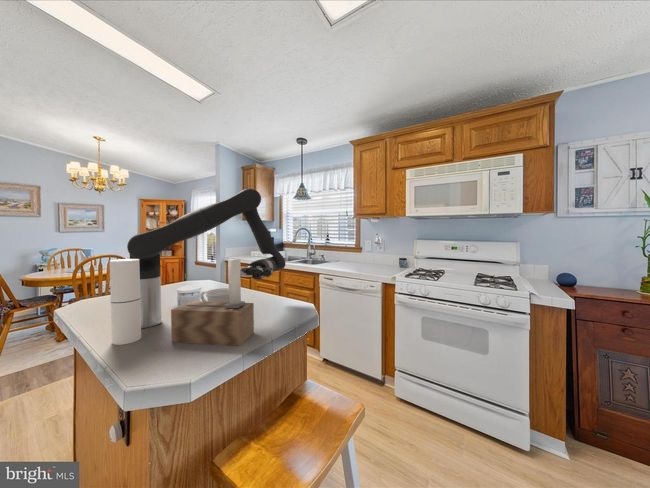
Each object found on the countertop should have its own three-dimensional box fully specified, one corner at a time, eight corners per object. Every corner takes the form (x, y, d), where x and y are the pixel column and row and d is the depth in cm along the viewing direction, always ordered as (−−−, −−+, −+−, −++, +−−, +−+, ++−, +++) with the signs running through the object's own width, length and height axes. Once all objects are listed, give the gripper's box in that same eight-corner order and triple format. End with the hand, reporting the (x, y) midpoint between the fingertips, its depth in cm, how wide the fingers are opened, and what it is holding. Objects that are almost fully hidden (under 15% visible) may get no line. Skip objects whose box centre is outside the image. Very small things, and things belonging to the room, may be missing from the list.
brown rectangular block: (171, 342, 76) (171, 309, 76) (192, 329, 86) (191, 300, 86) (240, 345, 74) (240, 311, 73) (253, 332, 84) (253, 302, 83)
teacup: (210, 310, 108) (209, 287, 107) (242, 311, 106) (242, 288, 105) (191, 319, 96) (191, 294, 95) (227, 321, 94) (227, 295, 93)
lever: (224, 307, 76) (223, 259, 76) (232, 303, 81) (231, 258, 81) (237, 308, 76) (237, 260, 75) (244, 303, 81) (244, 258, 80)
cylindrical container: (117, 346, 73) (115, 261, 72) (108, 341, 76) (105, 260, 75) (145, 338, 79) (143, 259, 78) (135, 333, 82) (133, 258, 82)
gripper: (244, 259, 102) (224, 263, 86) (278, 259, 100) (264, 264, 84) (244, 277, 102) (224, 285, 86) (278, 278, 100) (264, 286, 84)
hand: (244, 275), depth 85 cm, fingers open, 8 cm apart
